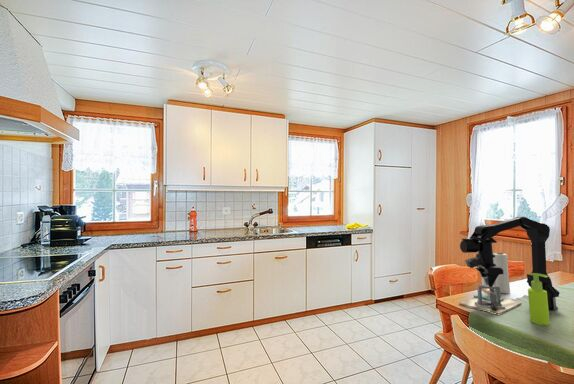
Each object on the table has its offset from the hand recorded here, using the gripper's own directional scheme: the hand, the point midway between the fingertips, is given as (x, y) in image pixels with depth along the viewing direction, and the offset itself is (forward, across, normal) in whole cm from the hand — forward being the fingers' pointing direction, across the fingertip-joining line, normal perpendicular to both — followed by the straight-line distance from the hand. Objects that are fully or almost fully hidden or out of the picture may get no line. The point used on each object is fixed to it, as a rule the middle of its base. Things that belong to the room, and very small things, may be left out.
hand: (488, 285), depth 131 cm
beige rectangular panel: (+11, -6, +2) cm, 13 cm away
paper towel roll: (+11, -29, +18) cm, 36 cm away
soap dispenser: (+11, +14, +13) cm, 22 cm away
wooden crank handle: (+10, -5, +4) cm, 12 cm away
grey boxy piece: (+9, 0, 0) cm, 9 cm away
